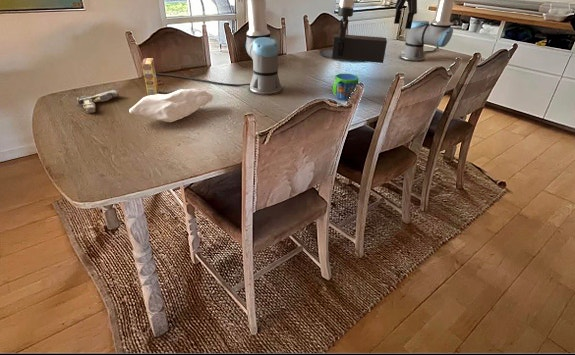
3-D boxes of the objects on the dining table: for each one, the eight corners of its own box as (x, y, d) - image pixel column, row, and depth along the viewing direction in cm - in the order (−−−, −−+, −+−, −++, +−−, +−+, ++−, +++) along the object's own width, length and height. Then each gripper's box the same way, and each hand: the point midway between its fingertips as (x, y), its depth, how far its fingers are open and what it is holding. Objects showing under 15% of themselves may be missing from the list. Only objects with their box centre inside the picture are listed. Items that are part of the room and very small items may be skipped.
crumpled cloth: (117, 110, 146) (113, 90, 140) (195, 92, 166) (194, 73, 160) (143, 139, 134) (140, 118, 128) (223, 116, 154) (224, 96, 148)
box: (331, 58, 191) (334, 37, 185) (332, 54, 198) (334, 33, 192) (383, 63, 188) (387, 41, 182) (382, 58, 195) (385, 37, 190)
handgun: (128, 97, 156) (111, 87, 164) (86, 107, 144) (70, 97, 152) (129, 103, 157) (113, 94, 165) (88, 114, 146) (72, 103, 154)
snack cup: (349, 91, 180) (352, 71, 174) (364, 98, 172) (367, 77, 167) (324, 97, 172) (326, 75, 167) (338, 104, 165) (341, 82, 159)
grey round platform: (383, 57, 237) (385, 42, 233) (344, 64, 220) (345, 48, 215) (347, 49, 262) (348, 36, 257) (309, 54, 245) (309, 40, 240)
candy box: (157, 97, 164) (152, 63, 155) (147, 98, 163) (141, 63, 155) (158, 91, 171) (153, 57, 163) (149, 91, 170) (143, 58, 162)
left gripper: (353, 10, 172) (347, 59, 184) (353, 5, 190) (347, 49, 202) (337, 9, 173) (332, 58, 185) (339, 4, 190) (334, 48, 203)
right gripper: (431, -19, 165) (420, 31, 176) (407, -23, 185) (398, 21, 197) (415, -19, 163) (405, 31, 175) (393, -24, 184) (385, 21, 196)
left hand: (340, 53), depth 193 cm, fingers closed on box, 9 cm apart
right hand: (402, 26), depth 186 cm, fingers open, 13 cm apart
